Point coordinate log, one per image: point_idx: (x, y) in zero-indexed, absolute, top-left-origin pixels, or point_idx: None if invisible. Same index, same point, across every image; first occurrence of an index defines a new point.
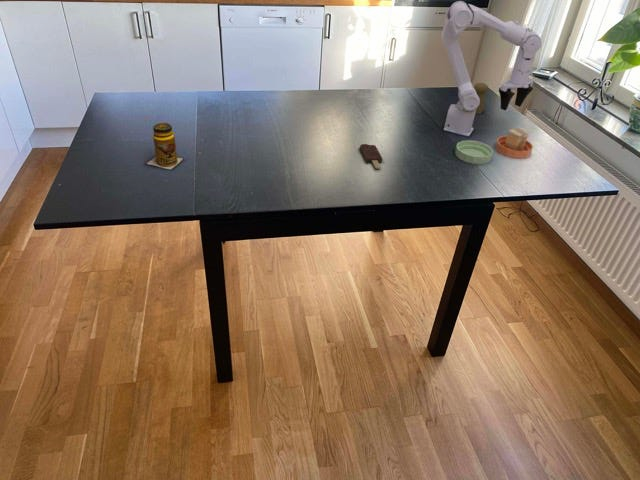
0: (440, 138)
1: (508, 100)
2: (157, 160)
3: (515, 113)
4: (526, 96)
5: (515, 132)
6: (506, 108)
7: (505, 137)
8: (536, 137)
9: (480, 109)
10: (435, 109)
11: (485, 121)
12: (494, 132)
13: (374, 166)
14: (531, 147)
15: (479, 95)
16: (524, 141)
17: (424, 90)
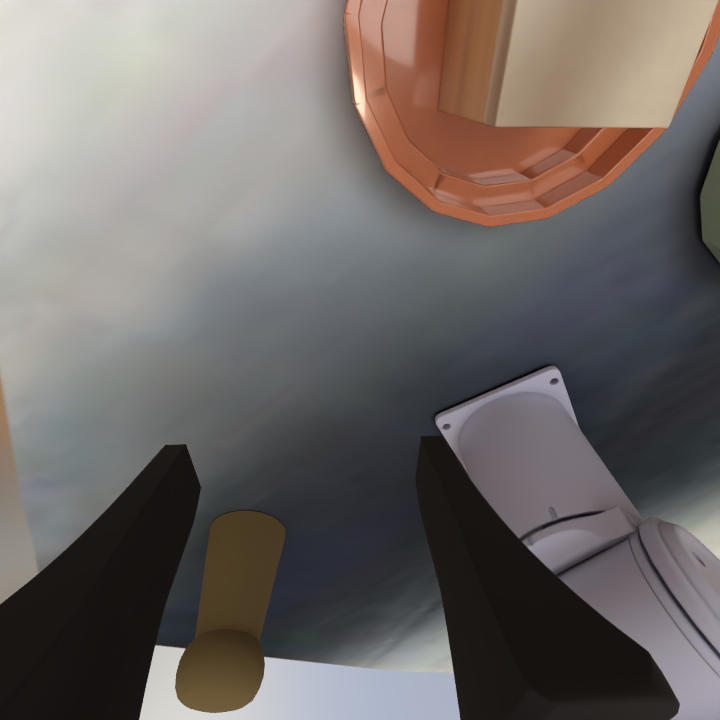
0: (684, 404)
1: (523, 548)
2: None
3: (18, 463)
4: (57, 563)
5: (680, 18)
6: (436, 450)
7: (460, 205)
8: (63, 148)
9: (243, 532)
10: (413, 573)
11: (284, 452)
12: (346, 346)
13: None
14: None
15: (248, 621)
16: None
17: (318, 654)
